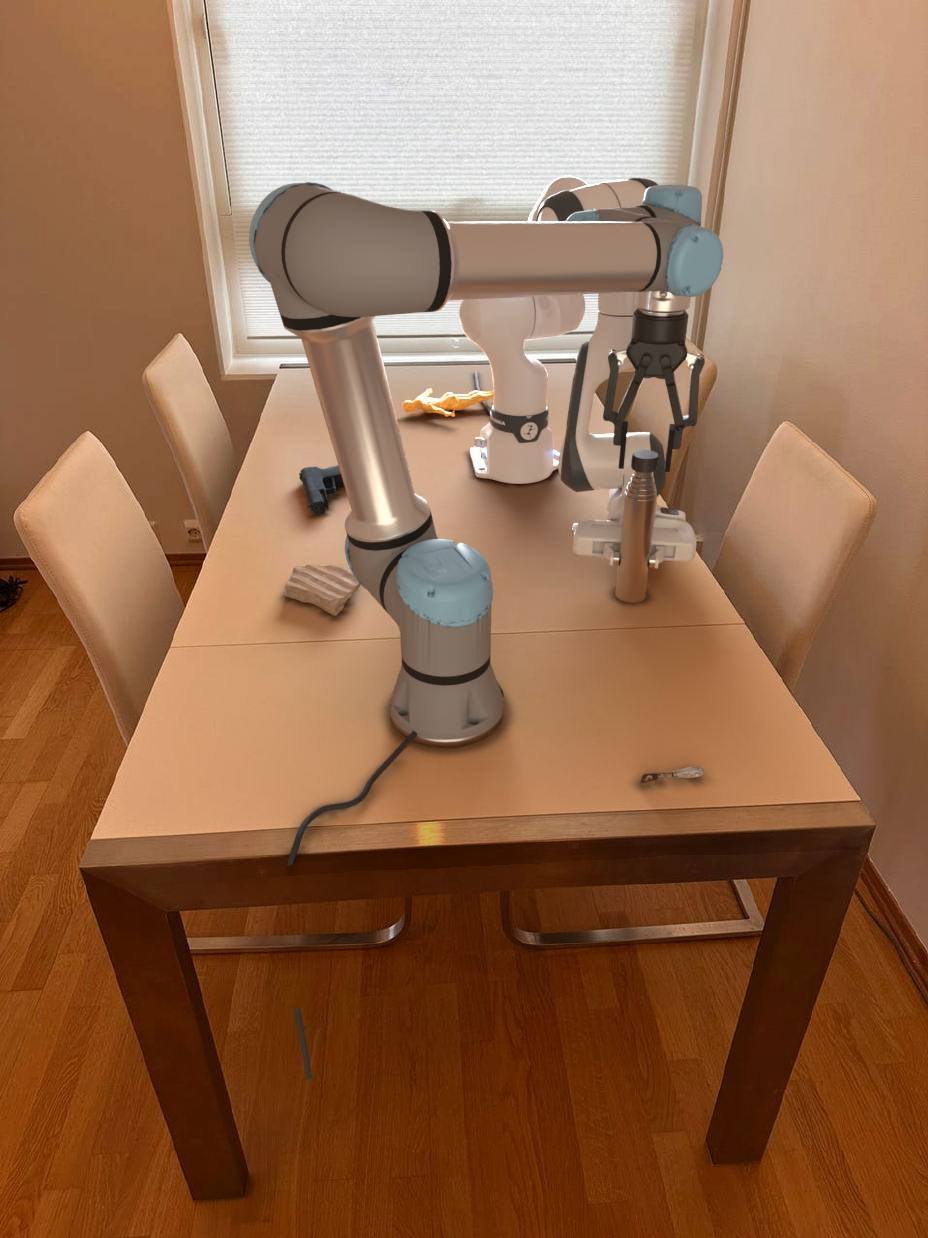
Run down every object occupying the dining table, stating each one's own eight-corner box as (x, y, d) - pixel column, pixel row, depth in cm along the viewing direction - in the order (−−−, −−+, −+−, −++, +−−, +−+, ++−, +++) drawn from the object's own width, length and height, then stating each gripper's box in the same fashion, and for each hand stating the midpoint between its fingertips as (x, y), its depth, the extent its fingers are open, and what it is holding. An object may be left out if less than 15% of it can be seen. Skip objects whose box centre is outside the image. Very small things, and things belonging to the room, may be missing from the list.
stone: (372, 582, 151) (371, 569, 149) (337, 617, 141) (336, 603, 140) (307, 569, 155) (305, 556, 154) (268, 602, 146) (266, 588, 144)
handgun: (369, 509, 176) (308, 516, 174) (354, 474, 190) (298, 480, 188) (368, 494, 174) (307, 501, 172) (353, 460, 189) (296, 466, 186)
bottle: (614, 601, 146) (627, 462, 133) (616, 586, 150) (629, 450, 137) (644, 604, 145) (661, 465, 132) (645, 589, 149) (661, 453, 136)
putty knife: (703, 777, 109) (705, 767, 109) (642, 788, 108) (644, 777, 107) (700, 772, 110) (702, 762, 109) (639, 782, 109) (640, 771, 108)
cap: (654, 462, 137) (655, 449, 136) (659, 472, 134) (661, 458, 133) (628, 463, 137) (630, 449, 136) (633, 473, 134) (635, 459, 132)
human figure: (395, 413, 223) (394, 398, 221) (438, 390, 237) (438, 375, 235) (462, 429, 215) (462, 413, 213) (502, 404, 229) (503, 388, 227)
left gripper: (589, 313, 122) (578, 471, 134) (734, 319, 118) (709, 481, 131) (593, 300, 128) (583, 453, 140) (731, 306, 125) (708, 462, 137)
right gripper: (573, 505, 154) (570, 541, 143) (694, 512, 152) (701, 549, 140) (571, 538, 158) (568, 576, 146) (689, 545, 155) (695, 584, 143)
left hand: (644, 466), depth 135 cm, fingers open, 6 cm apart
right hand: (634, 563), depth 143 cm, fingers closed on bottle, 5 cm apart
